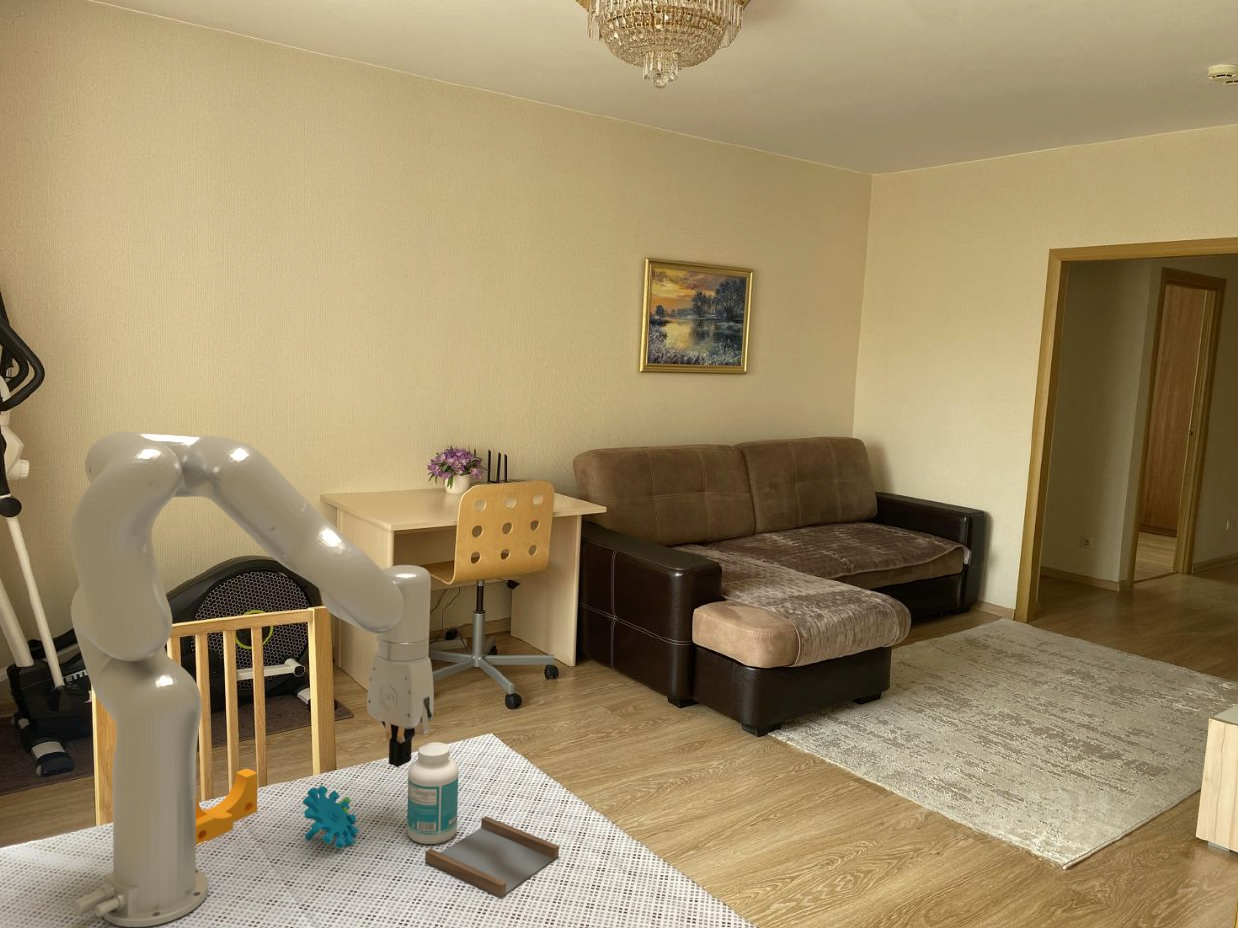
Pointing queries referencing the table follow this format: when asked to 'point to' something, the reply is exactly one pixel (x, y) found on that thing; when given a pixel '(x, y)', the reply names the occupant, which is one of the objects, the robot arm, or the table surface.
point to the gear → (330, 817)
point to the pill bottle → (432, 795)
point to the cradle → (494, 857)
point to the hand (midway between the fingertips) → (399, 762)
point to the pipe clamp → (228, 807)
